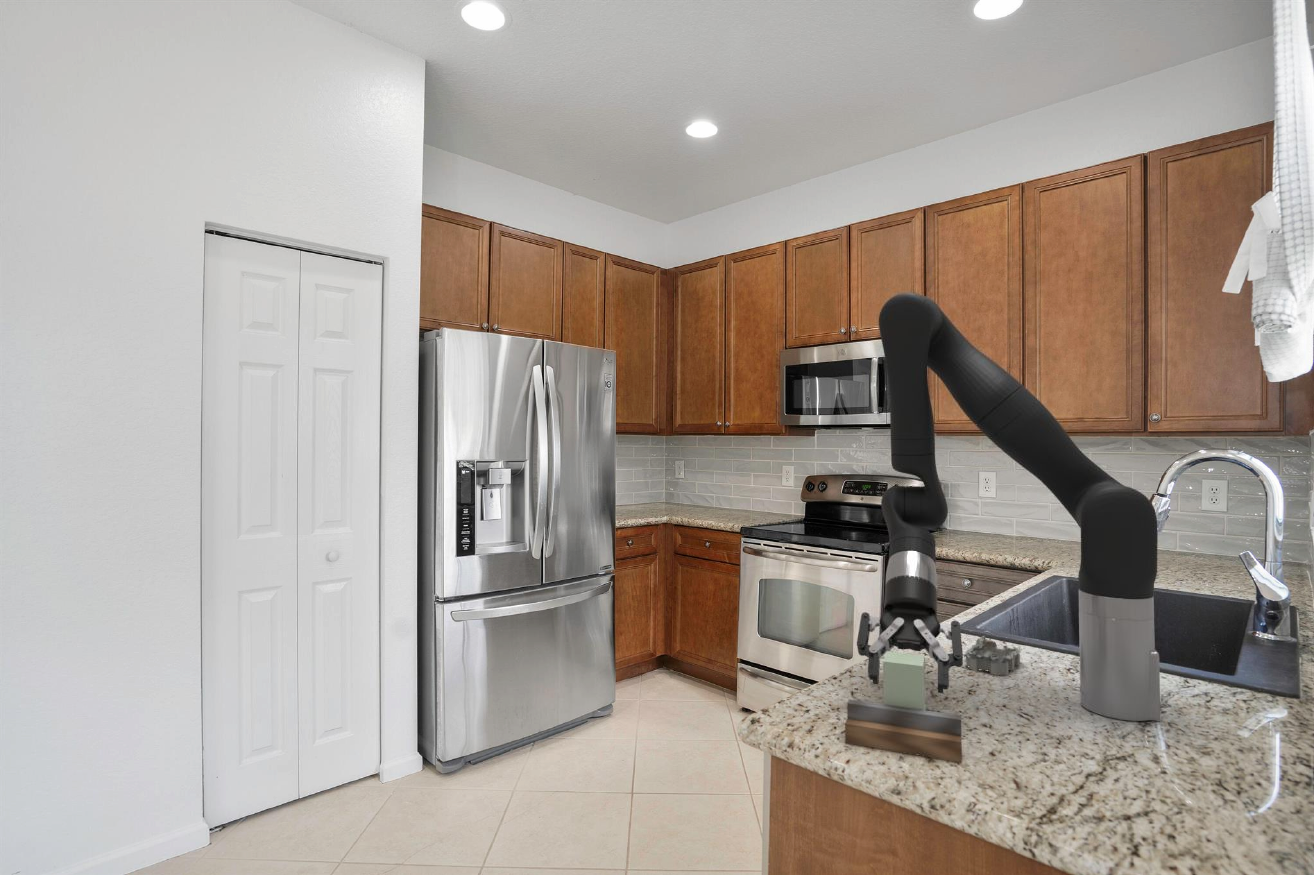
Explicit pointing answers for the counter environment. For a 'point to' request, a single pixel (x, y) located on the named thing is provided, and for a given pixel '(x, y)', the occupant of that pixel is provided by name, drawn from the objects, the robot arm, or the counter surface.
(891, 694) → the green block
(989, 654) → the grey scalloped block
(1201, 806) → the counter surface
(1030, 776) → the counter surface
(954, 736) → the dock
